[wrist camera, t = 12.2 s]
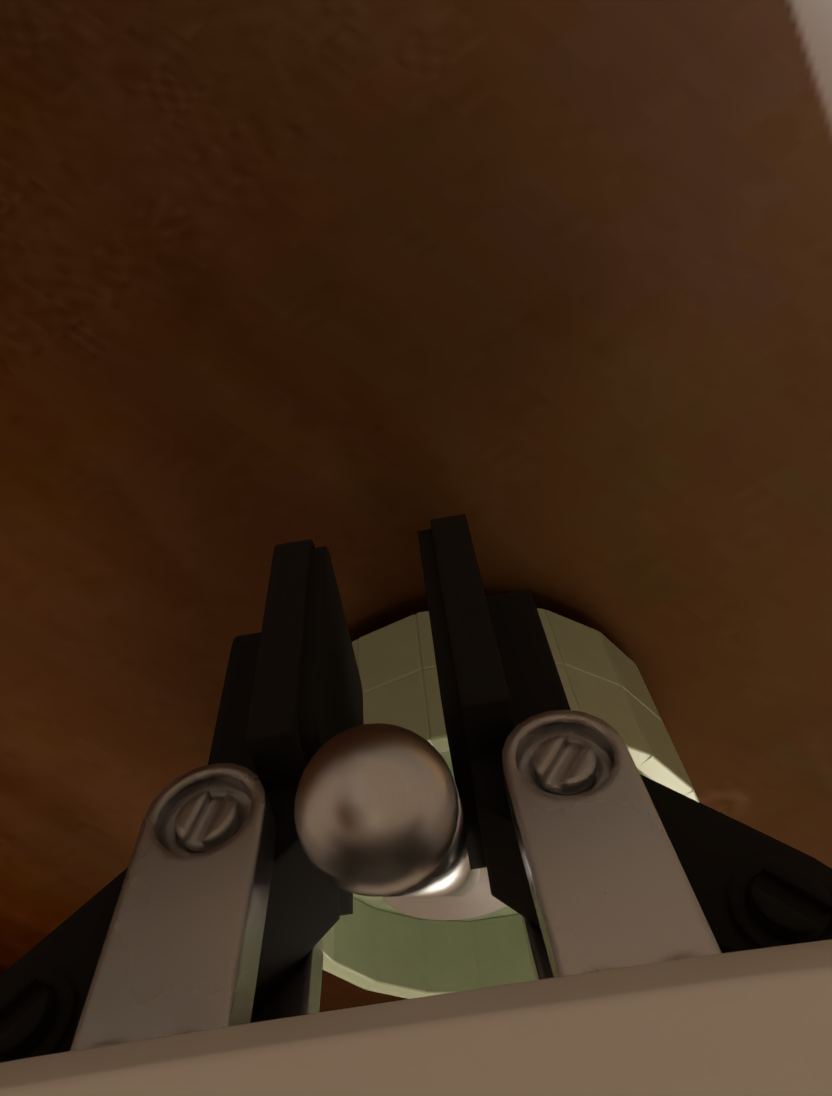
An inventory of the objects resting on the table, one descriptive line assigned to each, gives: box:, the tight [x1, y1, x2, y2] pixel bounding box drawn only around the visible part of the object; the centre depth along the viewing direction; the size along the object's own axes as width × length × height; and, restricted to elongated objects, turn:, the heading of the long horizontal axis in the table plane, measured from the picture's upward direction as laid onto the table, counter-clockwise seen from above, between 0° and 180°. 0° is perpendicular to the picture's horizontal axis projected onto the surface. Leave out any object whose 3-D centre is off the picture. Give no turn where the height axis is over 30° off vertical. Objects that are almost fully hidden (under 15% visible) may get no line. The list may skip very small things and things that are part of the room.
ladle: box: [294, 723, 506, 921], centre depth 16 cm, size 19×5×12 cm, turn 8°
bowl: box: [322, 608, 700, 999], centre depth 25 cm, size 13×13×6 cm
